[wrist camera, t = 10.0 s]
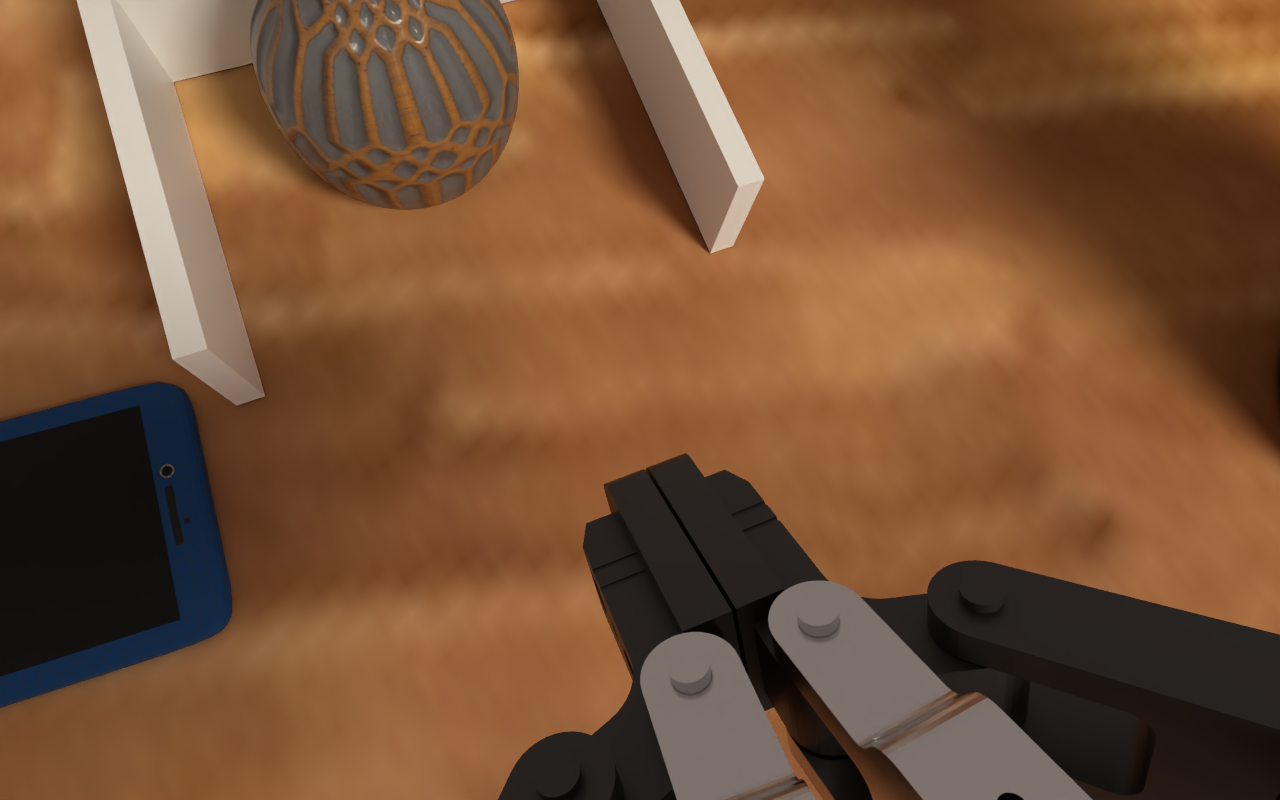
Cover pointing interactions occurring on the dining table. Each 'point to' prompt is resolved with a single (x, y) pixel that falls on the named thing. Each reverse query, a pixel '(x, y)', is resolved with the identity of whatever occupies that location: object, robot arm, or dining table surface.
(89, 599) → the cell phone
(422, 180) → the vase
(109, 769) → the dining table surface
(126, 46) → the frame
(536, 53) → the dining table surface
